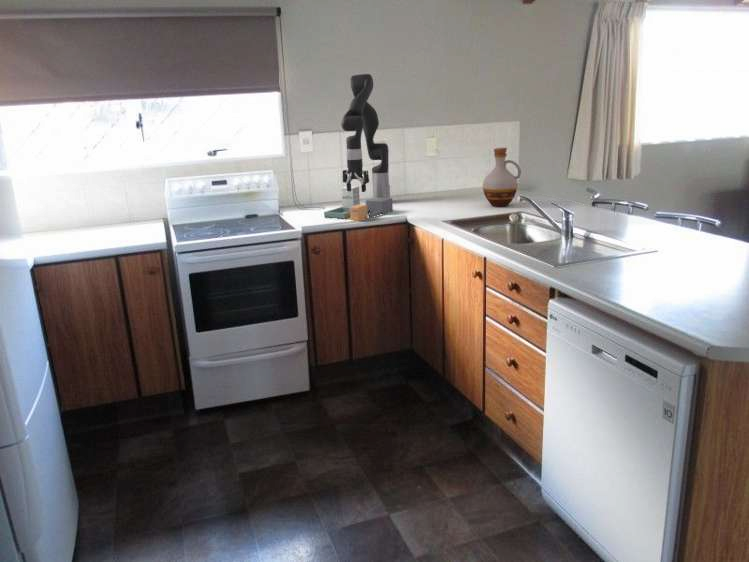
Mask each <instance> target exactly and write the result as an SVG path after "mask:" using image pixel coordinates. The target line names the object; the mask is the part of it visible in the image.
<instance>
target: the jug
mask: <svg viewBox="0 0 749 562" xmlns="http://www.w3.org/2000/svg"><path fill="white" fill-rule="evenodd" d="M507 149H508V148H507V147H496V148H493V151H494V153H493V156H494V159H495V167H494V168H493V169H492V171H490V172H489V173H488V174H487V175H486V176H485V177H484V179H483V182H482V190H483V195H484V196H485V199H486V200H487V201H488V203H489V204H490V205H491V206H492V207H494V208H504V207H508V206H509V205H510V203H511V202H512V201H513V200H514V198H515V196H516V193H517V191H518V180H517V179H520V177H521V175H522V169H521V167H520V165H519V164H518V163H517V162H516V161H514V160H511V159H507V160H506V157H507V155H508V153H507ZM509 163H510V164H512V165H514V166H515V167H516V169H517V175H514V174H512V173H511V172H510V171H509V170H508V169H507V164H509Z"/></svg>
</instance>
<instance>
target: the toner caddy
mask: <svg viewBox="0 0 749 562" xmlns="http://www.w3.org/2000/svg"><path fill="white" fill-rule="evenodd" d="M349 211H350V218H349V219H350V220H353V221H352V222H358V223H359V222H362V221H364V220H363V219H365V218H368V219H369V214H368V215H367V205H366V204H362V203H360V204H358V205H355V206H352V207H350V210H349ZM350 220H349V221H350ZM361 220H362V221H361ZM365 220H366V219H365Z"/></svg>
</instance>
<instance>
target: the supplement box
mask: <svg viewBox="0 0 749 562" xmlns="http://www.w3.org/2000/svg"><path fill="white" fill-rule="evenodd" d="M360 197H361V196H360V186H354V185H351V191H348V190H347V185H346V186H343V187H341V207H352V206H355V205H358V204H361V200H360V199H361V198H360Z"/></svg>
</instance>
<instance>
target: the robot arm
mask: <svg viewBox="0 0 749 562" xmlns="http://www.w3.org/2000/svg"><path fill="white" fill-rule="evenodd" d="M349 79H350V80H349V82H350V88H351V92H352V95H353V99H352V100H351V102H350V104H349V107H348V110H347V111H346V113H345V114H344V115H343V117H342V118H341V123H340V124H341V128H342V130H343V131H344V132H355V134H353V135H350V136H347V137H346V140H345V141H346V166H347V169H344V170H342V183H345V184H346V186H347V190H348V191H351V186H352V181H353V180H358V181H359V182H360V183H361V187H360V188H361V193H365V192H366V191H367V185H366V184H368V183H370V176H369V170H363V167H364V165H363V150H362V134H364V137H365V143H366V148H367V155H368V157H369V159H370V160H372V161H380V163H379V164H378V165H376V166H373V167H372V168H371V176H372V177H371V178H372V194H373V196H372V198H376V197H380V198H391V186H390V179H389V178H390V176H389V175H390V174H389V172H390V171H389V166H390V165H389V146H388V144H387V142H376V143H375V142H374V138H375V137H374V136H375V134H376V132H377V130H378V128H379V125H380V123H379V122H380V121H379V116H378V113H377V111H376V109H375V108H374V107H373V106H372V105H371V104H370V103H369V102H368V100H369V98H370V96H371V94H372V92H373V89H374V79H373V76H372V75H371V74H370V73H362V74H354V75H352V76H351V77H350V78H349Z"/></svg>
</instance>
